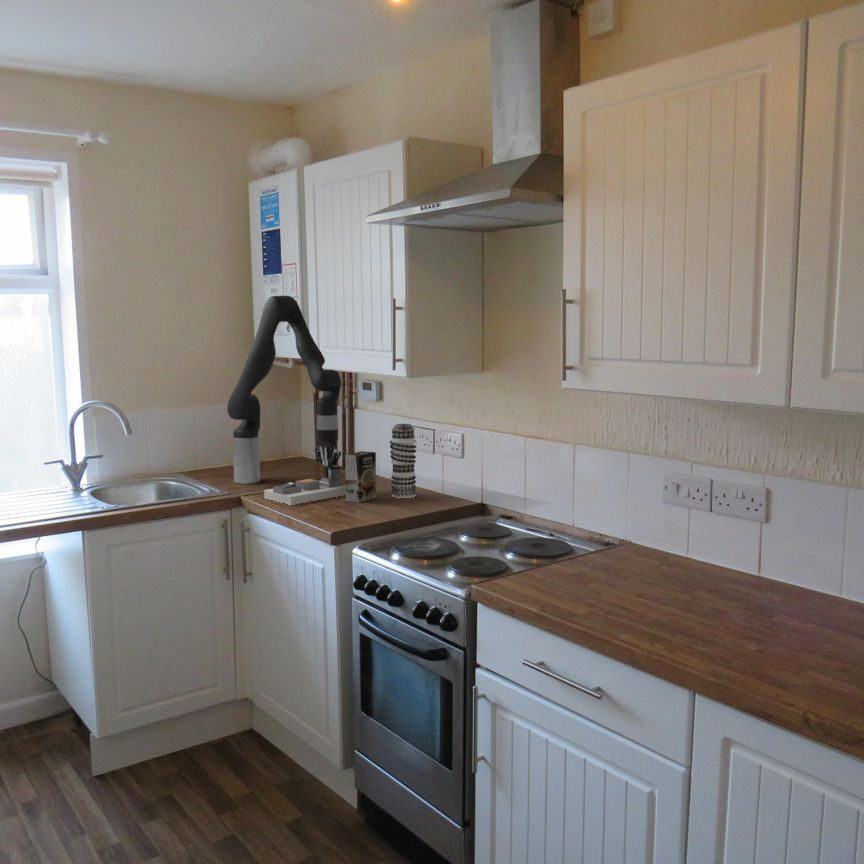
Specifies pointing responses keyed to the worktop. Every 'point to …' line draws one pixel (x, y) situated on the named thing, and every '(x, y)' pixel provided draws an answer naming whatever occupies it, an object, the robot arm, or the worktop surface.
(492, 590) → the worktop surface
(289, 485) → the rocker switch
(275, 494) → the control panel
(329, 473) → the slide paddle
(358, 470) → the coffee box
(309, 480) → the push button
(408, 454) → the decorative candle
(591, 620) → the worktop surface
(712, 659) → the worktop surface
